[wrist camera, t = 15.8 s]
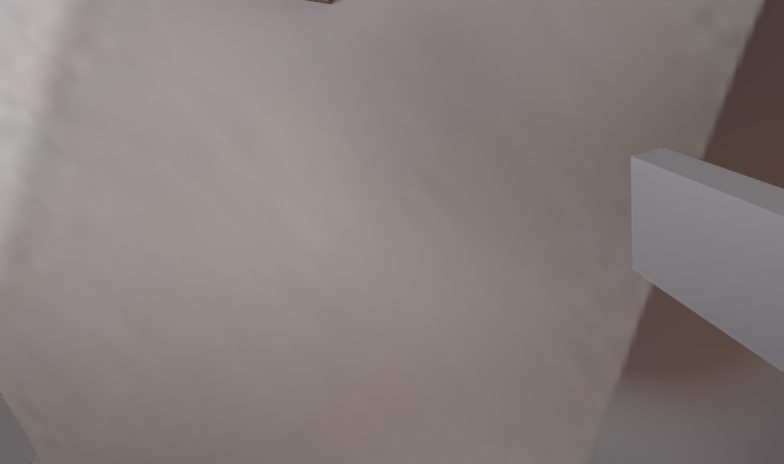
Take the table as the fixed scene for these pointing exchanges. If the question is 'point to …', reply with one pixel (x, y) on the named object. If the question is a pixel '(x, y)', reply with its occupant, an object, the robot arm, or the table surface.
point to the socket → (322, 1)
